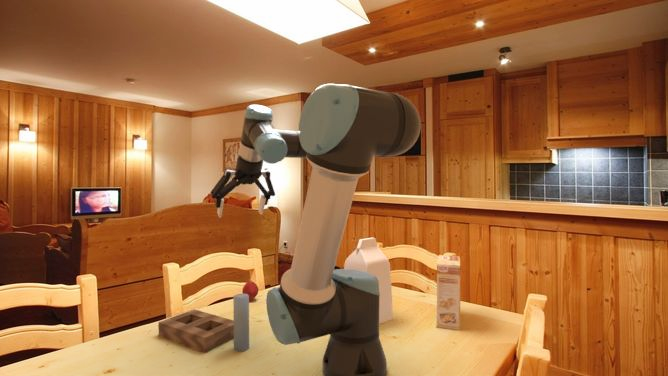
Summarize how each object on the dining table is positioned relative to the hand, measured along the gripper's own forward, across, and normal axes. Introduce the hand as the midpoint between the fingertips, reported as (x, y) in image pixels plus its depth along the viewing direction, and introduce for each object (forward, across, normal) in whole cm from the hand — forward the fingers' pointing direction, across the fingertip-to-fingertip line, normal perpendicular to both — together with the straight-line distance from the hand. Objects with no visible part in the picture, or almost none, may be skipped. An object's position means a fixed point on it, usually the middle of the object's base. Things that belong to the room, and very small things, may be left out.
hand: (240, 213), depth 116 cm
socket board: (+25, +15, +24) cm, 38 cm away
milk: (+17, -34, +38) cm, 54 cm away
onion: (+36, -8, +7) cm, 38 cm away
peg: (+17, +7, +36) cm, 41 cm away
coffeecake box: (+9, -55, +51) cm, 76 cm away
